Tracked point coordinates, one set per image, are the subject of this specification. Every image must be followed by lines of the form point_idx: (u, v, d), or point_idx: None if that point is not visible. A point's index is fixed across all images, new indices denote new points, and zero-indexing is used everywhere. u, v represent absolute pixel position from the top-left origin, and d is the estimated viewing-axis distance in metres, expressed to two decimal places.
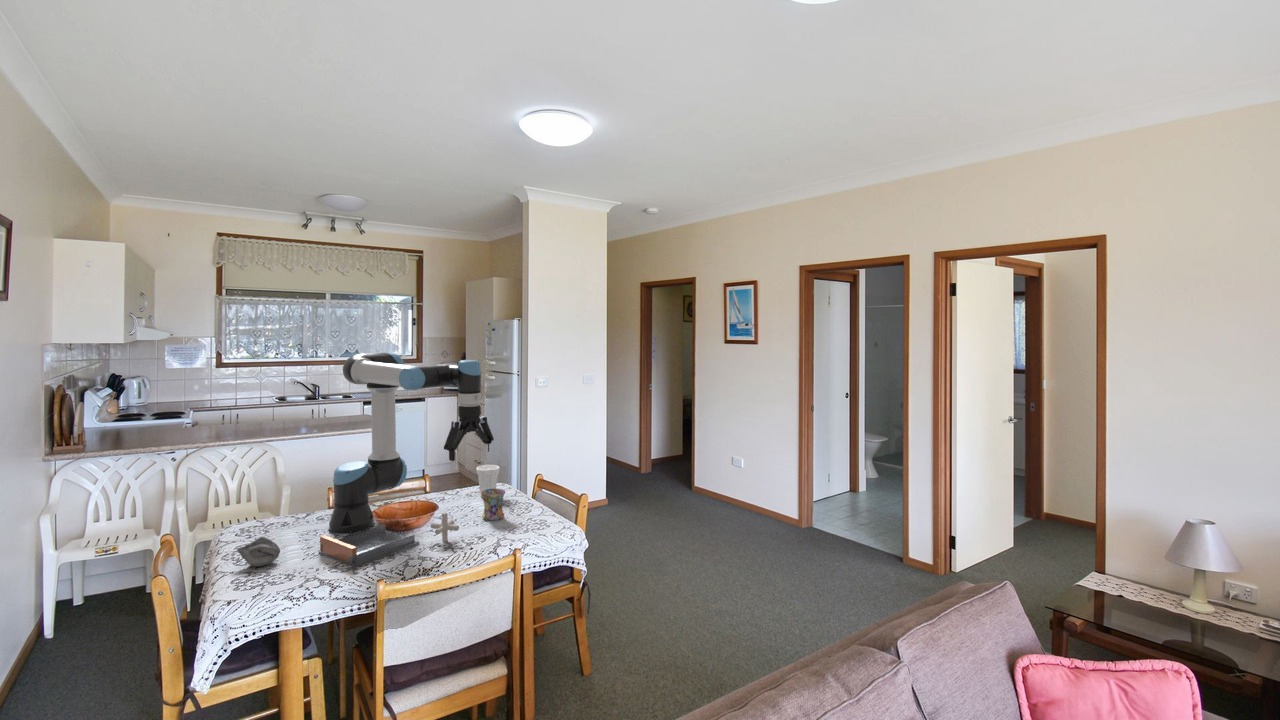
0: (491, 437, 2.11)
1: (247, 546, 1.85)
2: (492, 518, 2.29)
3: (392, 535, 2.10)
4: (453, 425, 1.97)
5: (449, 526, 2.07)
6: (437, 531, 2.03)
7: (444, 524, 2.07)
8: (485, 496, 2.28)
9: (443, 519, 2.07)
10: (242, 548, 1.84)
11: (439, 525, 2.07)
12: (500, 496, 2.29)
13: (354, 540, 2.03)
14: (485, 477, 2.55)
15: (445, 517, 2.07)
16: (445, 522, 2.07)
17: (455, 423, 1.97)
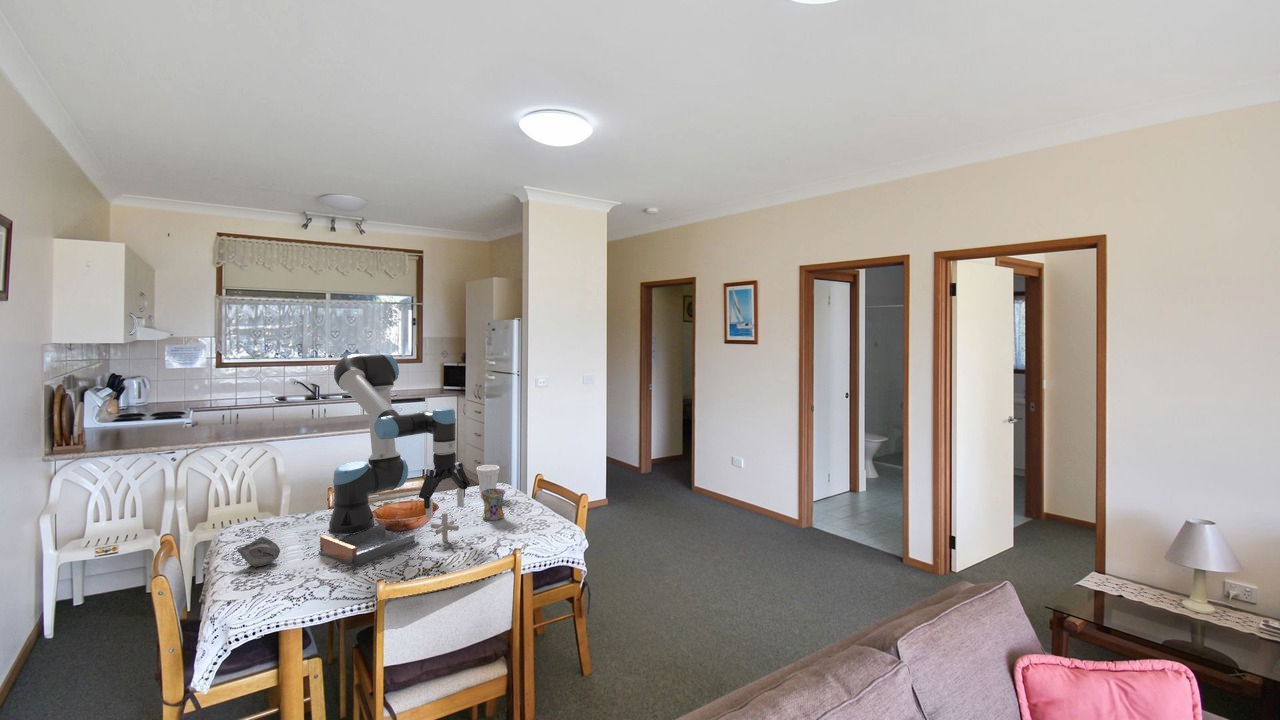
0: (467, 482, 2.14)
1: (247, 546, 1.85)
2: (492, 518, 2.29)
3: (392, 535, 2.10)
4: (428, 473, 2.00)
5: (449, 526, 2.07)
6: (437, 531, 2.03)
7: (444, 524, 2.07)
8: (485, 496, 2.28)
9: (443, 519, 2.07)
10: (242, 548, 1.84)
11: (439, 525, 2.07)
12: (500, 496, 2.29)
13: (354, 540, 2.03)
14: (485, 477, 2.55)
15: (445, 517, 2.07)
16: (445, 522, 2.07)
17: (430, 471, 2.00)
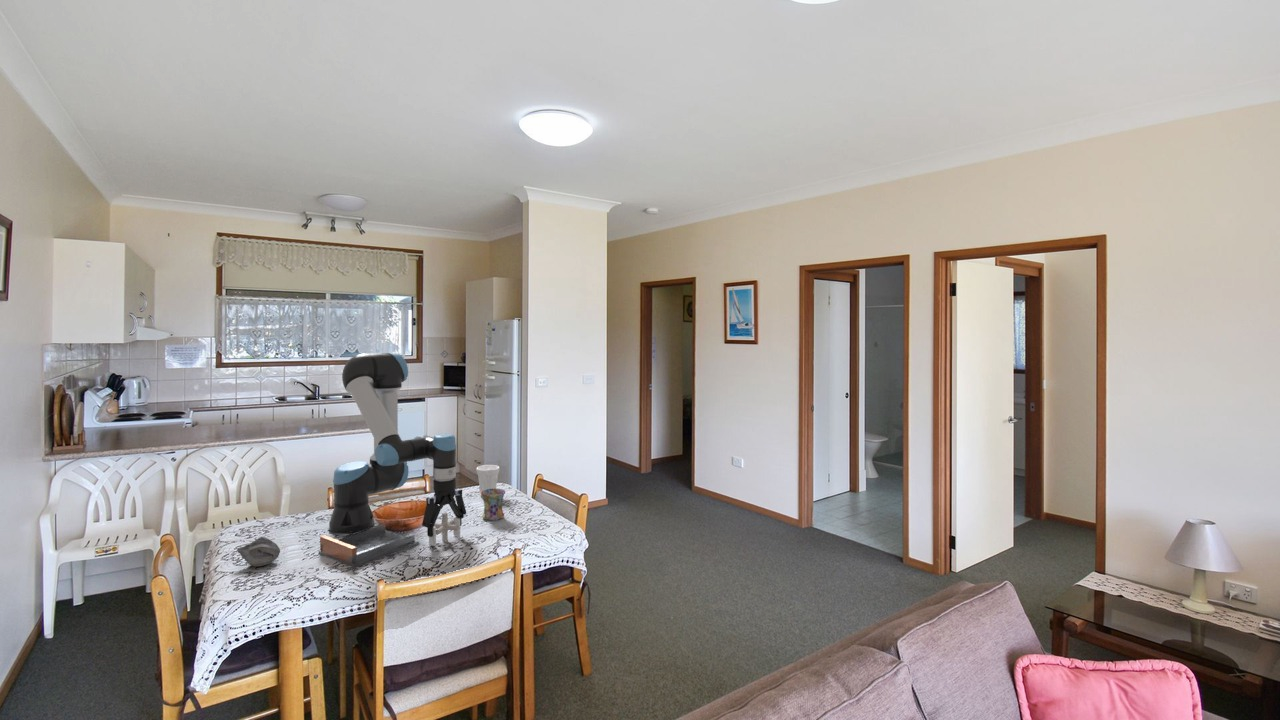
0: (464, 511, 2.13)
1: (247, 546, 1.85)
2: (492, 518, 2.29)
3: (392, 535, 2.10)
4: (428, 502, 2.01)
5: (449, 526, 2.07)
6: (437, 531, 2.03)
7: (444, 524, 2.07)
8: (485, 496, 2.28)
9: (443, 519, 2.07)
10: (242, 548, 1.84)
11: (439, 525, 2.07)
12: (500, 496, 2.29)
13: (354, 540, 2.03)
14: (485, 477, 2.55)
15: (445, 517, 2.07)
16: (445, 522, 2.07)
17: (430, 500, 2.01)
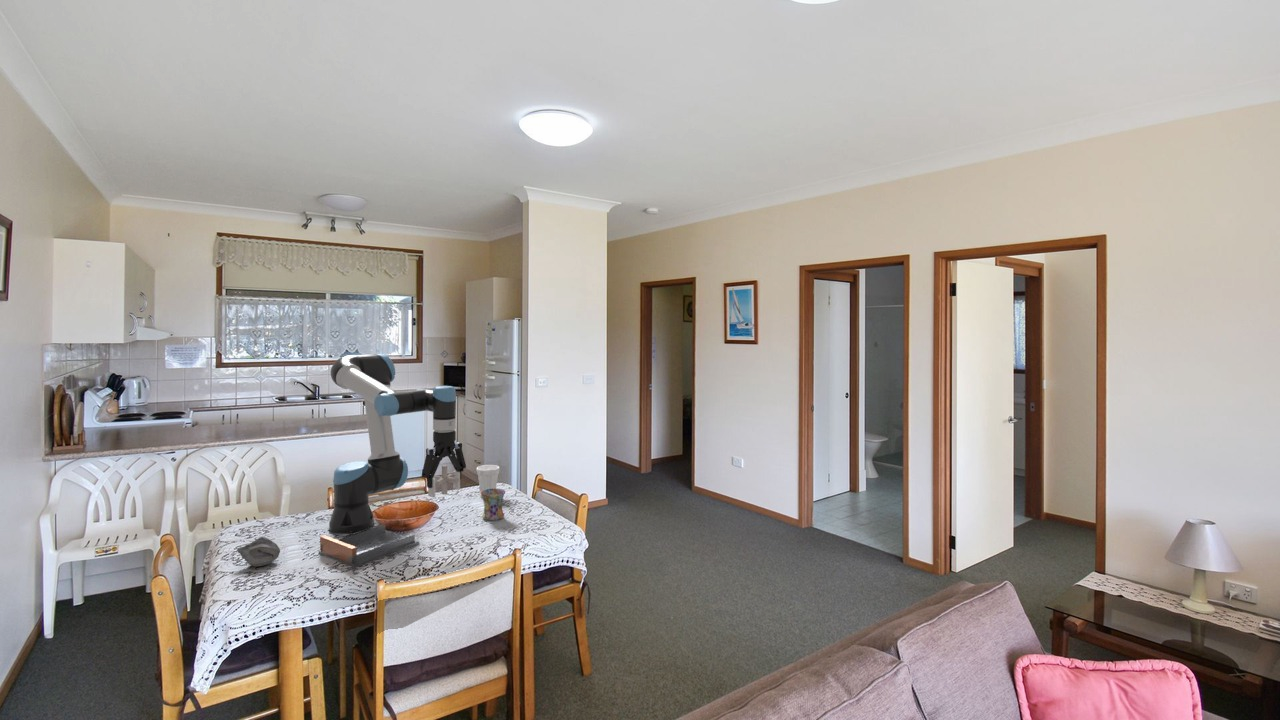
0: (463, 464, 2.12)
1: (247, 546, 1.85)
2: (492, 518, 2.29)
3: (392, 535, 2.10)
4: (428, 453, 2.00)
5: (449, 478, 2.06)
6: (437, 482, 2.02)
7: (444, 476, 2.06)
8: (485, 496, 2.28)
9: (443, 471, 2.06)
10: (242, 548, 1.84)
11: (439, 477, 2.06)
12: (500, 496, 2.29)
13: (354, 540, 2.03)
14: (485, 477, 2.55)
15: (445, 469, 2.06)
16: (445, 474, 2.06)
17: (429, 451, 2.00)
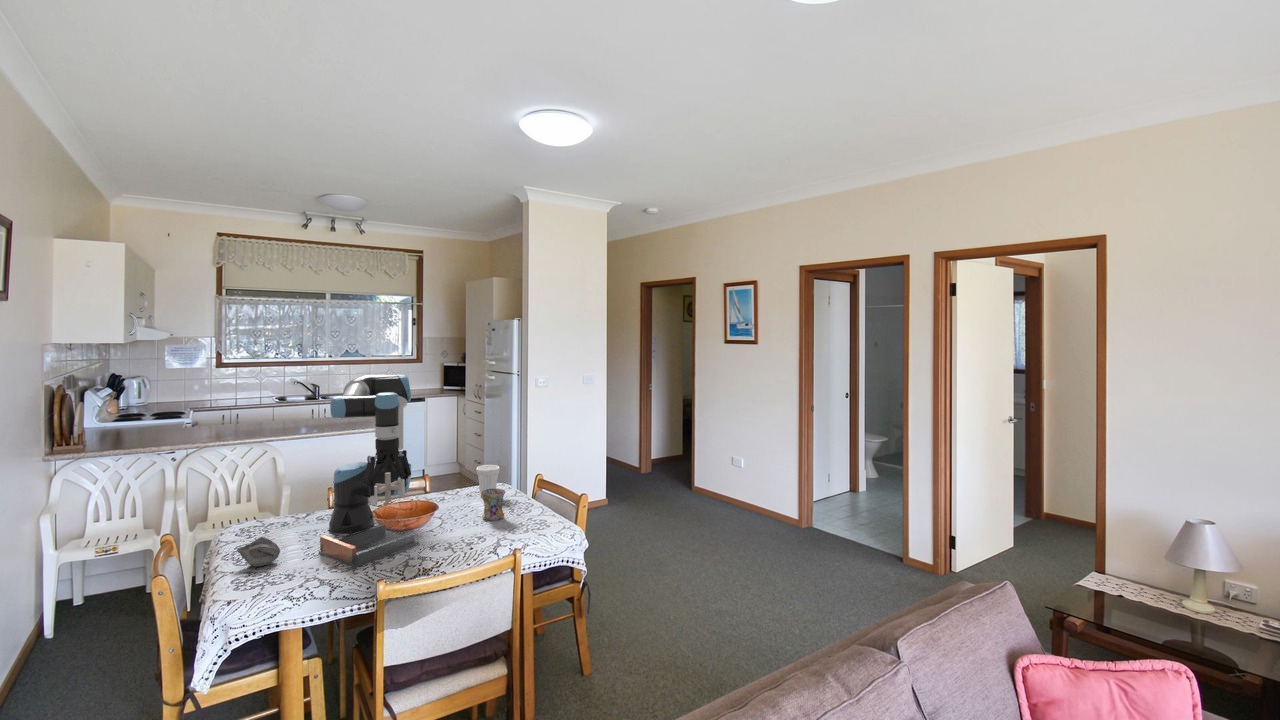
0: (409, 472, 2.10)
1: (247, 546, 1.85)
2: (492, 518, 2.29)
3: (392, 535, 2.10)
4: (369, 460, 1.98)
5: (392, 486, 2.03)
6: (379, 490, 2.00)
7: (387, 484, 2.03)
8: (485, 496, 2.28)
9: (386, 479, 2.03)
10: (242, 548, 1.84)
11: (382, 485, 2.04)
12: (500, 496, 2.29)
13: (354, 540, 2.03)
14: (485, 477, 2.55)
15: (388, 477, 2.03)
16: (388, 482, 2.04)
17: (370, 458, 1.98)
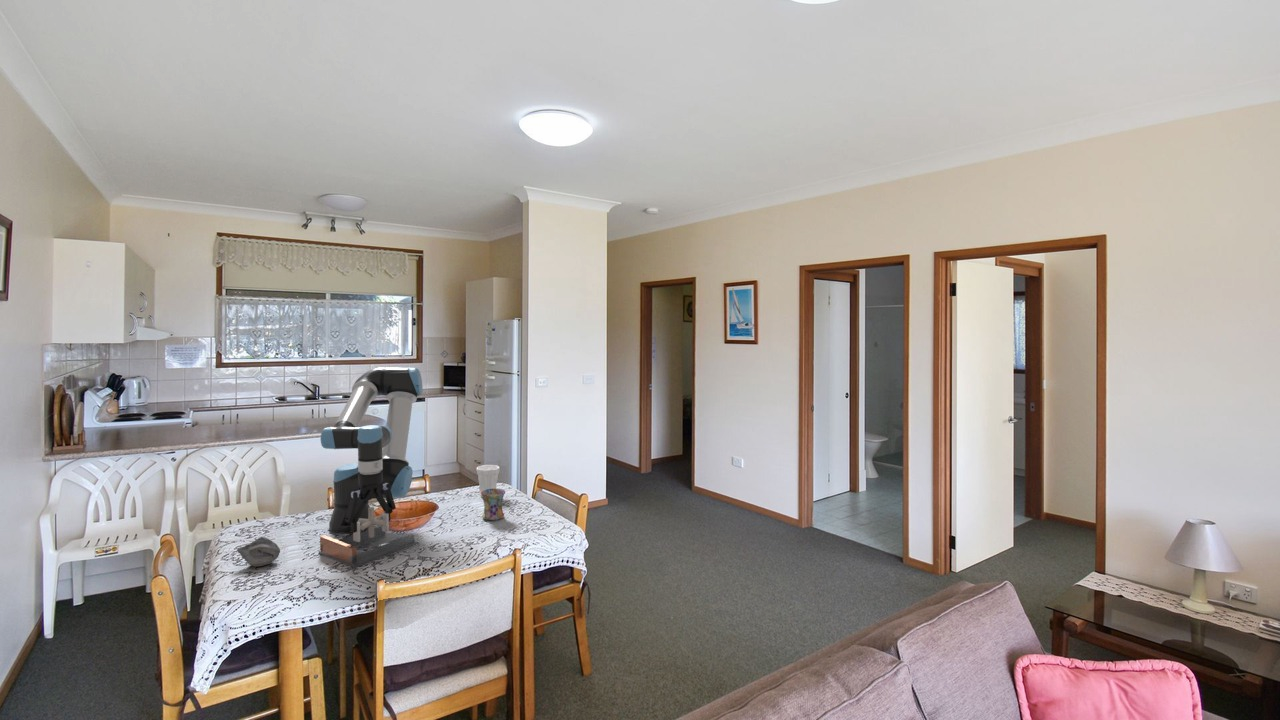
0: (393, 506, 2.05)
1: (247, 546, 1.85)
2: (492, 518, 2.29)
3: (392, 535, 2.10)
4: (351, 496, 1.93)
5: (375, 521, 1.99)
6: (361, 526, 1.95)
7: (370, 519, 1.99)
8: (485, 496, 2.28)
9: (369, 514, 1.99)
10: (242, 548, 1.84)
11: (365, 520, 1.99)
12: (500, 496, 2.29)
13: None
14: (485, 477, 2.55)
15: (371, 512, 1.99)
16: (371, 517, 1.99)
17: (353, 494, 1.93)
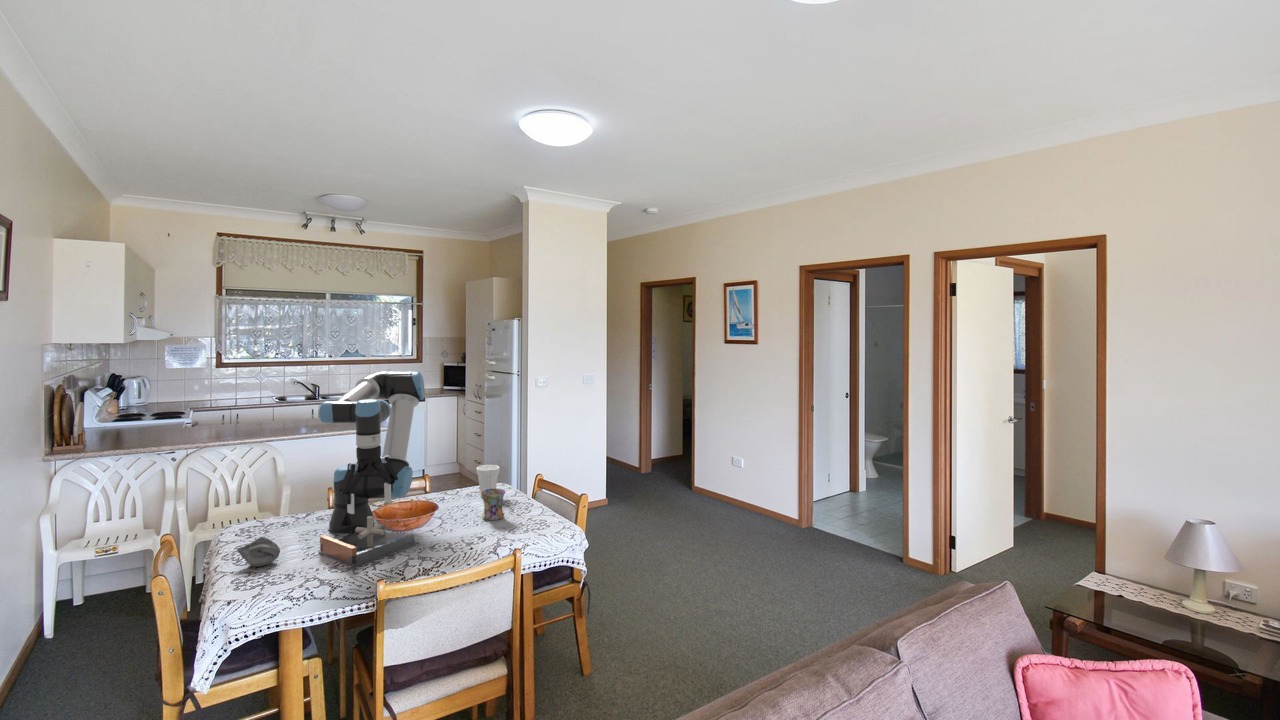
0: (395, 477, 2.06)
1: (247, 546, 1.85)
2: (492, 518, 2.29)
3: (392, 535, 2.10)
4: (349, 468, 1.92)
5: (374, 530, 1.99)
6: (360, 535, 1.95)
7: (369, 528, 1.99)
8: (485, 496, 2.28)
9: (368, 523, 1.99)
10: (242, 548, 1.84)
11: (364, 529, 1.99)
12: (500, 496, 2.29)
13: (354, 540, 2.03)
14: (485, 477, 2.55)
15: (370, 521, 1.99)
16: (370, 526, 1.99)
17: (351, 466, 1.92)
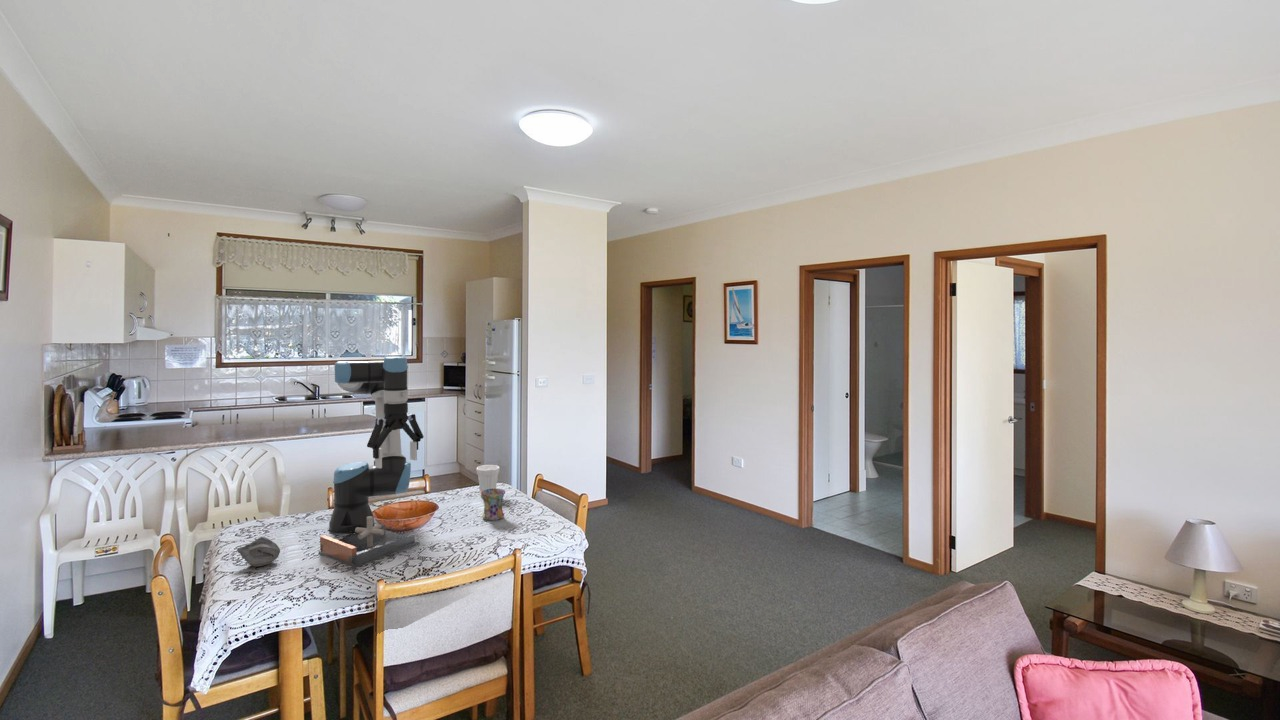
0: (420, 435, 2.08)
1: (247, 546, 1.85)
2: (492, 518, 2.29)
3: (392, 535, 2.10)
4: (377, 422, 1.94)
5: (374, 530, 1.98)
6: (360, 536, 1.95)
7: (369, 528, 1.99)
8: (485, 496, 2.28)
9: (368, 523, 1.99)
10: (242, 548, 1.84)
11: (364, 529, 1.99)
12: (500, 496, 2.29)
13: (354, 540, 2.03)
14: (485, 477, 2.55)
15: (370, 521, 1.99)
16: (370, 526, 1.99)
17: (379, 420, 1.94)
